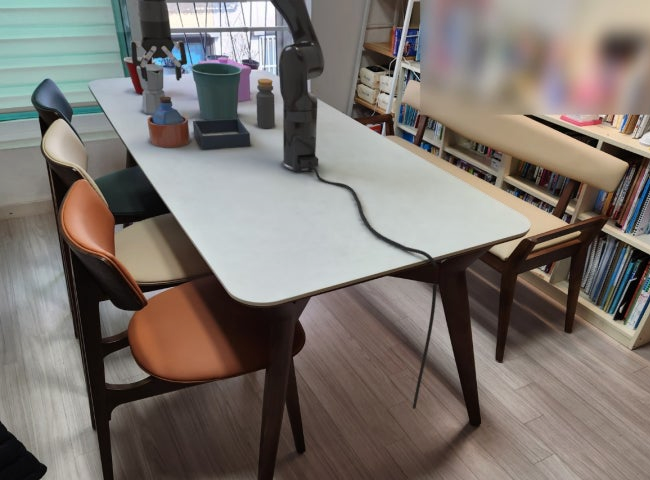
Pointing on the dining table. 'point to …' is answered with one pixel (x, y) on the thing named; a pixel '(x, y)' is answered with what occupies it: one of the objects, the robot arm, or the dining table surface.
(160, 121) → the perfume bottle
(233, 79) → the flower pot
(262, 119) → the bottle
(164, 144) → the round terracotta bowl
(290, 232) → the dining table surface
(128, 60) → the plastic cup
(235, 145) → the tray
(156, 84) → the coffee maker
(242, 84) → the teapot
